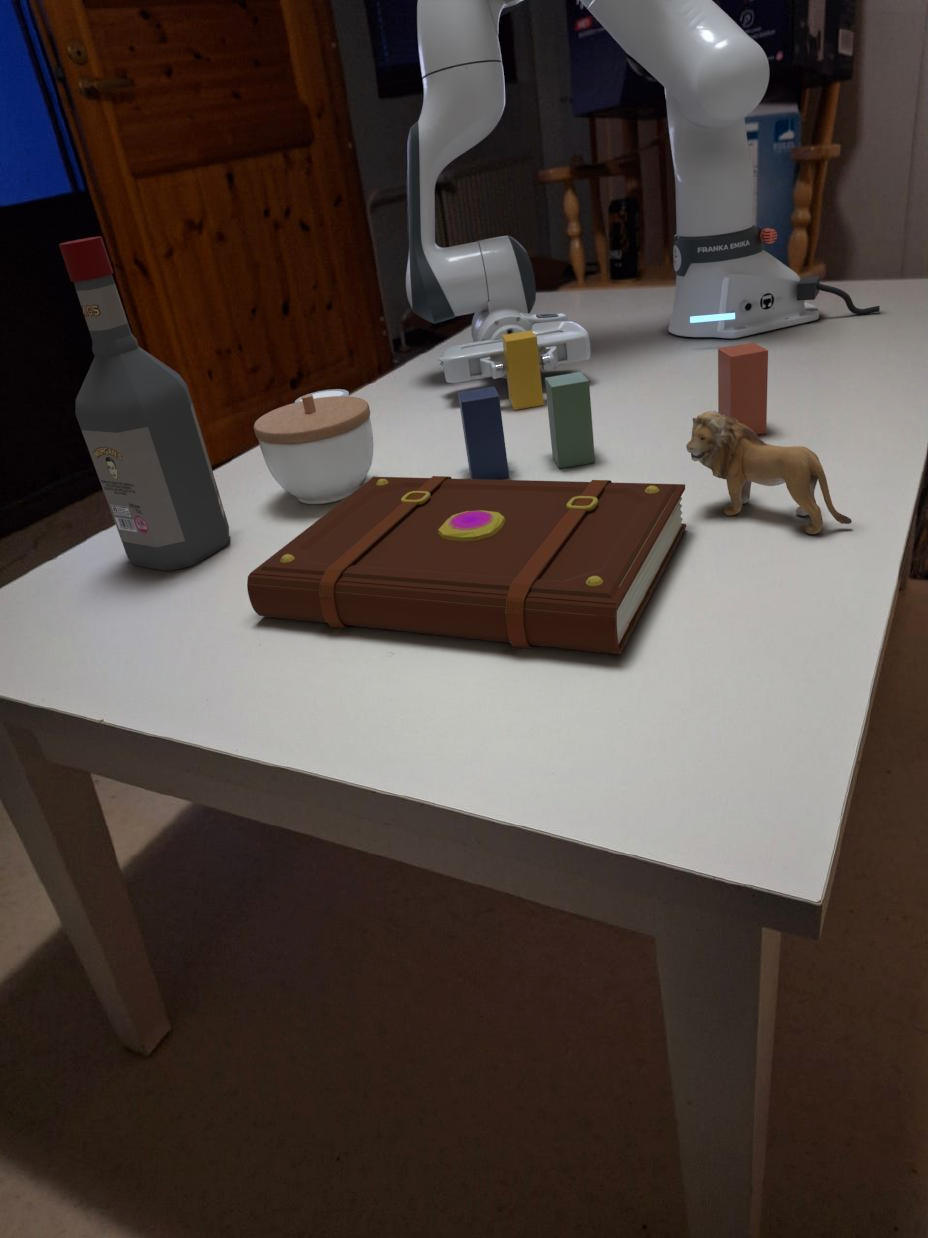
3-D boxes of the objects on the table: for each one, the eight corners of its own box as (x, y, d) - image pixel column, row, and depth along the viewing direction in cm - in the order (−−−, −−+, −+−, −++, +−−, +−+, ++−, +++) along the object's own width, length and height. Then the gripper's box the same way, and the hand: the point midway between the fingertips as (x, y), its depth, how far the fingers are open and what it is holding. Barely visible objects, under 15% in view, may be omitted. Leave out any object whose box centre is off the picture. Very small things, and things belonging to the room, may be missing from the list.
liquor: (179, 576, 87) (68, 247, 72) (118, 564, 92) (3, 253, 77) (244, 536, 93) (155, 227, 79) (185, 527, 98) (90, 234, 84)
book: (382, 514, 93) (373, 468, 91) (687, 527, 80) (685, 475, 78) (254, 623, 76) (239, 571, 74) (616, 664, 63) (612, 602, 60)
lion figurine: (678, 514, 83) (676, 419, 79) (705, 492, 86) (704, 401, 82) (839, 540, 74) (846, 435, 70) (863, 516, 77) (871, 414, 73)
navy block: (504, 465, 101) (494, 386, 96) (509, 477, 97) (499, 395, 93) (469, 471, 101) (457, 392, 96) (473, 483, 97) (461, 402, 93)
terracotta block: (752, 422, 101) (754, 341, 97) (766, 433, 98) (768, 350, 93) (718, 428, 101) (717, 348, 97) (730, 439, 98) (730, 356, 93)
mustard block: (538, 397, 122) (531, 329, 118) (543, 405, 118) (536, 335, 114) (509, 402, 122) (501, 334, 118) (513, 410, 118) (505, 341, 114)
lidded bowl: (401, 470, 104) (383, 375, 99) (355, 514, 94) (333, 412, 89) (306, 471, 109) (284, 381, 103) (253, 514, 99) (225, 417, 93)
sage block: (587, 450, 101) (581, 371, 97) (595, 462, 98) (589, 380, 93) (552, 456, 101) (544, 377, 97) (559, 468, 97) (551, 386, 93)
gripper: (434, 335, 127) (441, 356, 115) (575, 311, 128) (597, 330, 116) (441, 379, 130) (448, 404, 118) (579, 355, 131) (601, 378, 119)
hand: (523, 367), depth 117 cm, fingers open, 5 cm apart
